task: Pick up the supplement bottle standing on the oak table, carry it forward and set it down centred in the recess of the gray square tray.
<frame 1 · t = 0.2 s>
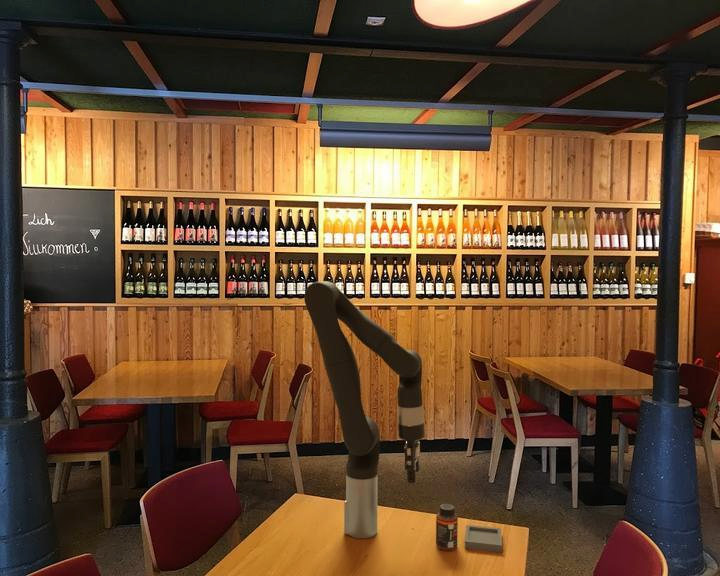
hand: (413, 476, 159), 18 cm above the table, tool pointing down, fingers open, 8 cm apart
gray square tray: (483, 541, 158), on the table
supplement bottle: (446, 547, 155), on the table
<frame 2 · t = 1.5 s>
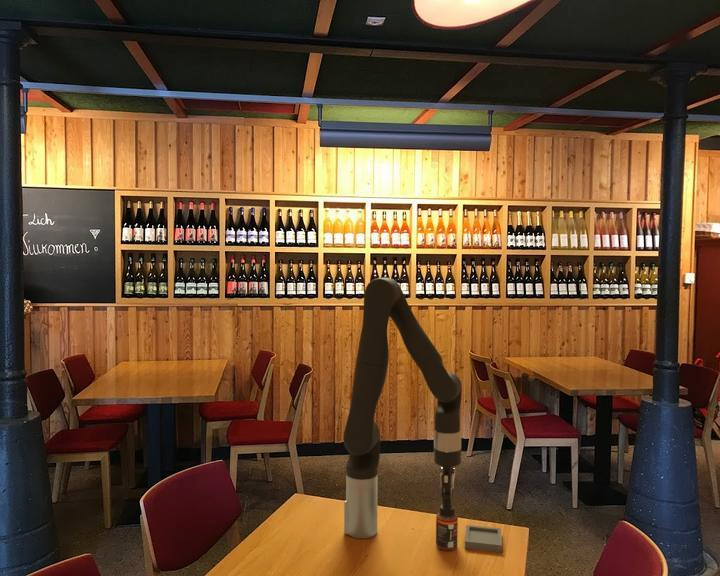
hand: (447, 503, 154), 12 cm above the table, tool pointing down, fingers open, 8 cm apart
nothing on the table moved.
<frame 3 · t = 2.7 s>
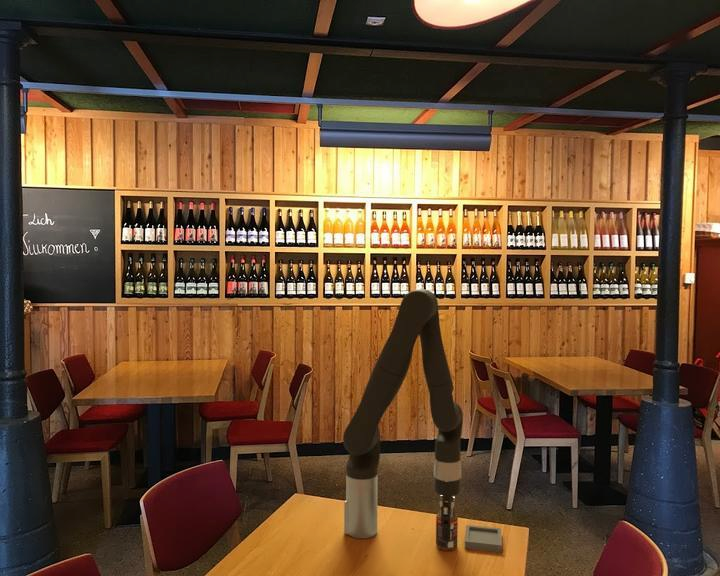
hand: (446, 533, 155), 4 cm above the table, tool pointing down, fingers closed on supplement bottle, 6 cm apart
supplement bottle: (446, 547, 155), on the table, touching gripper
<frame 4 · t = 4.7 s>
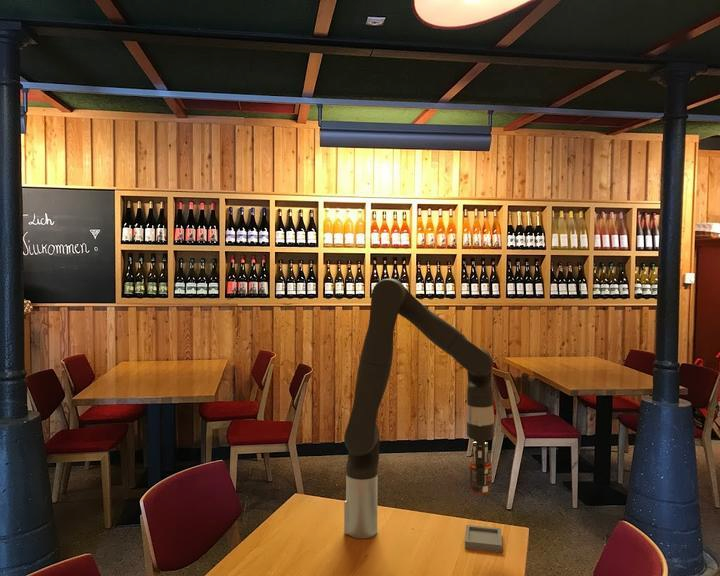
hand: (480, 479, 156), 18 cm above the table, tool pointing down, fingers closed on supplement bottle, 6 cm apart
supplement bottle: (481, 492, 156), point 15 cm above the table, touching gripper
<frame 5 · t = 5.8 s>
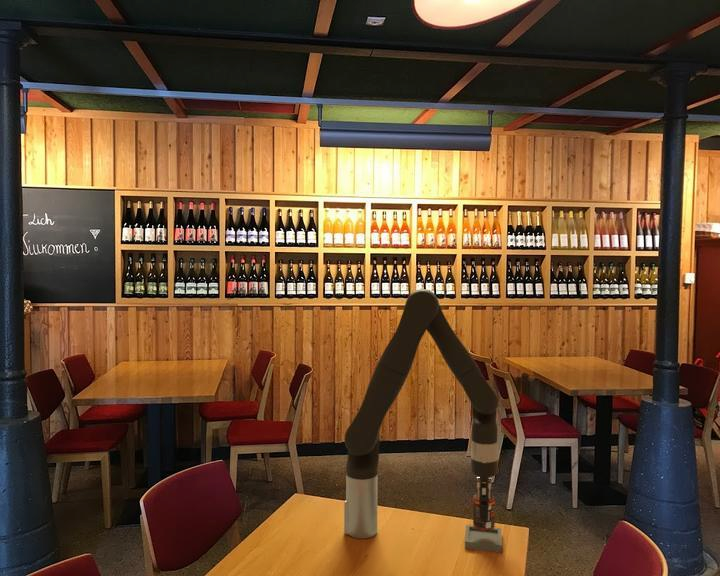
hand: (483, 514, 157), 8 cm above the table, tool pointing down, fingers closed on supplement bottle, 6 cm apart
supplement bottle: (483, 527, 157), point 4 cm above the table, touching gripper
when the fingers open (5 cm above the table, at t = 6.6 s): supplement bottle stays where it is, resting on gray square tray.
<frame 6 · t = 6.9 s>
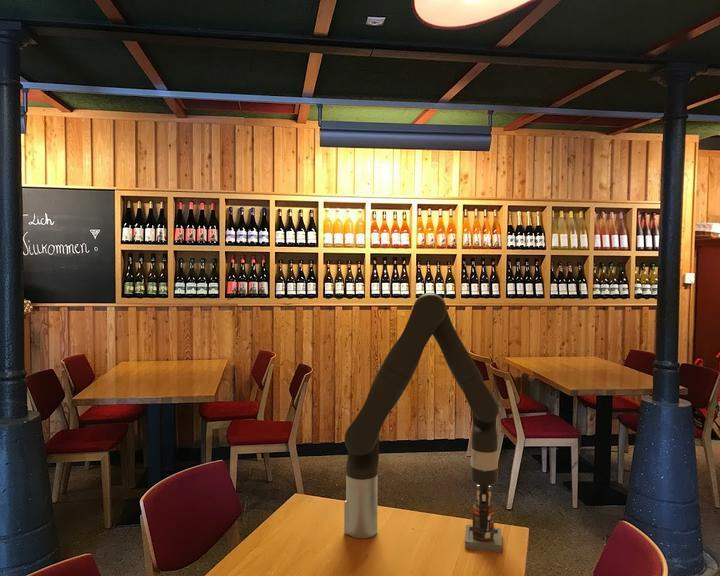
hand: (483, 520, 157), 6 cm above the table, tool pointing down, fingers open, 8 cm apart
supplement bottle: (483, 537, 158), point 1 cm above the table, touching gray square tray
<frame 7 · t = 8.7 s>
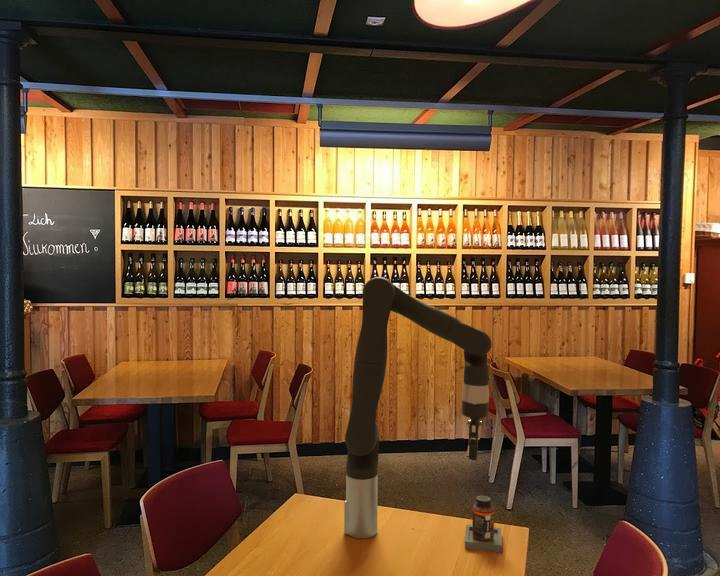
hand: (473, 454, 160), 24 cm above the table, tool pointing down, fingers open, 8 cm apart
nothing on the table moved.
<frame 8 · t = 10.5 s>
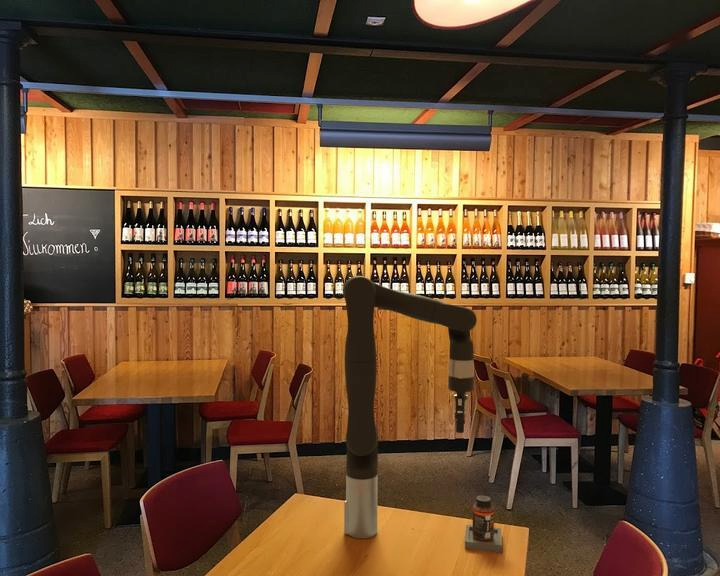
hand: (460, 428, 165), 30 cm above the table, tool pointing down, fingers open, 8 cm apart
nothing on the table moved.
at the end: supplement bottle 0.1 cm off-centre on the gray square tray, point 1.0 cm above the gray square tray's base; supplement bottle tilted 0°; the gripper is holding nothing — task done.
